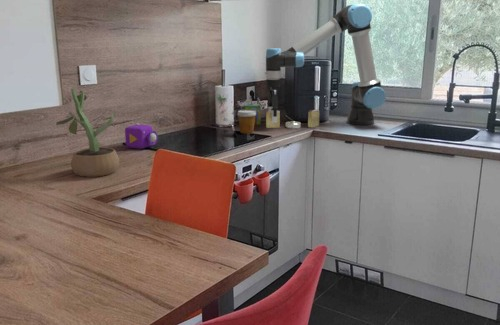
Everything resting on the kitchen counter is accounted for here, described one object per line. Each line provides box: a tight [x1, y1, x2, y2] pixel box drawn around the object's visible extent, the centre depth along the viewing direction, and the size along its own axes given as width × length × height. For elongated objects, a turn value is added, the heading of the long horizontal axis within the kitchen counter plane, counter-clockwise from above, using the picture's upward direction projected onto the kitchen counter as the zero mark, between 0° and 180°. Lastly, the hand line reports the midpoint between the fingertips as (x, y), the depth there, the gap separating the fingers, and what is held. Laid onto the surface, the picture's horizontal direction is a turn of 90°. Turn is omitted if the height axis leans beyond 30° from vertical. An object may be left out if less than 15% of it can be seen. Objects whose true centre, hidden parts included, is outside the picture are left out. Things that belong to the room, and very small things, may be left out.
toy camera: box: [124, 122, 158, 150], centre depth 211 cm, size 11×14×10 cm
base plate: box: [285, 120, 302, 129], centre depth 251 cm, size 26×16×4 cm, turn 96°
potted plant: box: [55, 88, 120, 178], centre depth 172 cm, size 22×18×30 cm
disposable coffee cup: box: [236, 109, 256, 135], centre depth 237 cm, size 10×10×12 cm
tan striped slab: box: [265, 110, 281, 129], centre depth 249 cm, size 7×2×9 cm, turn 96°
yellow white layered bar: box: [307, 109, 320, 128], centre depth 252 cm, size 7×2×9 cm, turn 137°
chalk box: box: [243, 98, 262, 126], centre depth 262 cm, size 9×9×15 cm
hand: (272, 120), depth 250 cm, fingers open, 12 cm apart
